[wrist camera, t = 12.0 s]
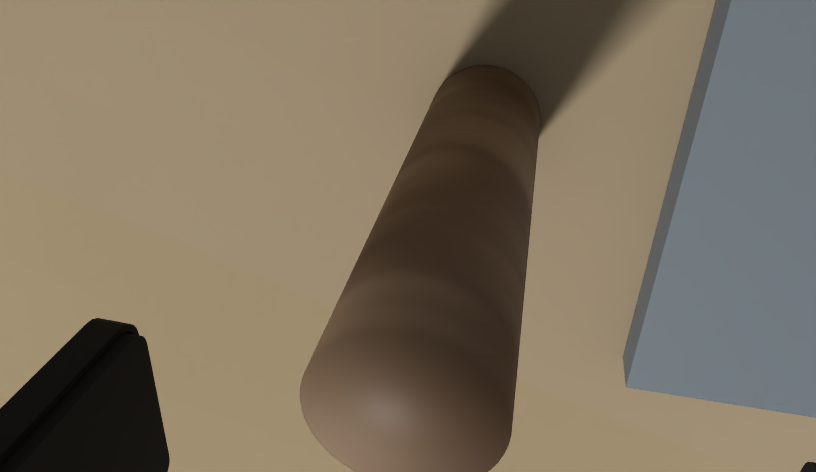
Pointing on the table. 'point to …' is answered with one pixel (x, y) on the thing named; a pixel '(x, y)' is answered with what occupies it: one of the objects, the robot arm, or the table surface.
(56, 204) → the table surface
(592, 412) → the table surface
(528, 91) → the dowel
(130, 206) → the table surface
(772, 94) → the jig board
